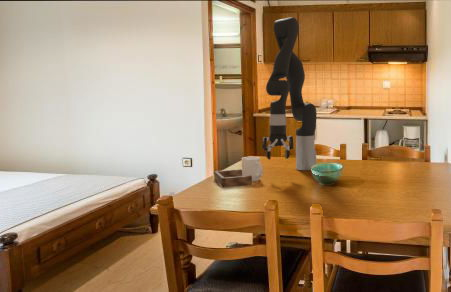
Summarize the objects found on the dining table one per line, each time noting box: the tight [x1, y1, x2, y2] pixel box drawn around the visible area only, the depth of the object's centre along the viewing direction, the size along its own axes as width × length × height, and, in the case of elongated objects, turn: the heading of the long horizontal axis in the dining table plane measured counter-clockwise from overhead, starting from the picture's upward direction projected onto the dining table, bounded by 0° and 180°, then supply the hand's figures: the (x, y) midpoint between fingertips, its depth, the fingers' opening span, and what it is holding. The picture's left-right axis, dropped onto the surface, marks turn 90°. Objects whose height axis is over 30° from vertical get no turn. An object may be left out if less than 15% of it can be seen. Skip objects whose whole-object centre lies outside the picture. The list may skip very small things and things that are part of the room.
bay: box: [213, 168, 253, 188], centre depth 230 cm, size 13×17×4 cm
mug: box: [241, 156, 264, 183], centre depth 231 cm, size 12×8×10 cm
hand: (277, 158), depth 234 cm, fingers open, 8 cm apart
